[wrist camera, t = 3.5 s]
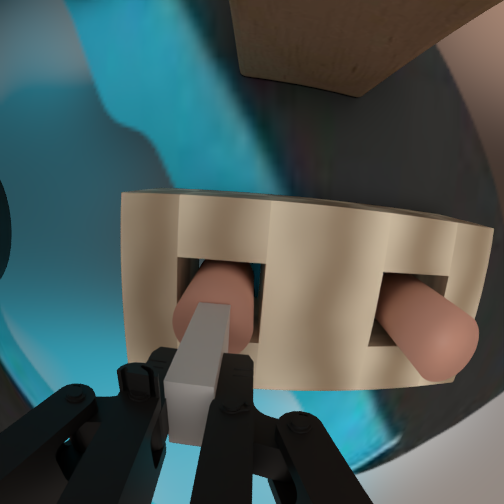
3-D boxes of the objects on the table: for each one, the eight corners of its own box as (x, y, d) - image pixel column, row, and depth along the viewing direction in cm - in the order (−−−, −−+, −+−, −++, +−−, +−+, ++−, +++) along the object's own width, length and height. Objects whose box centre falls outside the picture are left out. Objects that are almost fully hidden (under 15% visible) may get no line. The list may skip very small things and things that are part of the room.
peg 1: (197, 301, 24) (173, 356, 16) (199, 248, 23) (171, 283, 15) (251, 305, 24) (250, 363, 16) (256, 252, 23) (256, 290, 15)
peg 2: (363, 322, 22) (407, 384, 14) (373, 268, 21) (428, 313, 13) (411, 322, 22) (464, 378, 14) (422, 271, 21) (487, 312, 13)
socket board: (159, 325, 28) (129, 373, 20) (160, 187, 25) (121, 192, 17) (414, 338, 28) (452, 381, 20) (438, 214, 25) (494, 228, 17)
